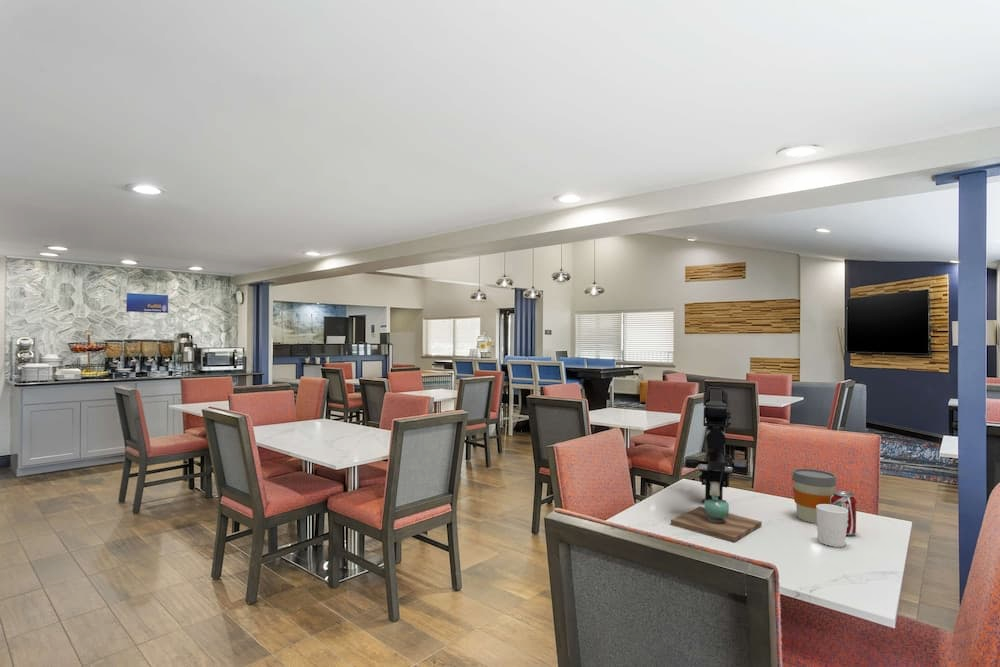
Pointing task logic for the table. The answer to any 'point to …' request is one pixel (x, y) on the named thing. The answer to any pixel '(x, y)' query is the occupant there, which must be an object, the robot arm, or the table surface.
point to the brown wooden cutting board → (717, 524)
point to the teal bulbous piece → (716, 503)
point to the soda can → (848, 503)
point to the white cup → (831, 524)
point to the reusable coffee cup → (812, 491)
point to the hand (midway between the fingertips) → (714, 490)
